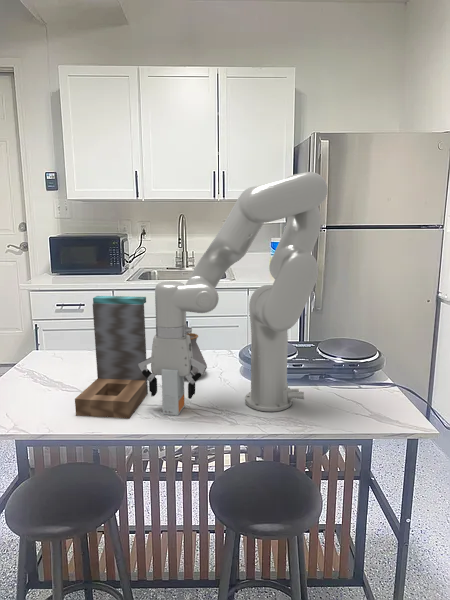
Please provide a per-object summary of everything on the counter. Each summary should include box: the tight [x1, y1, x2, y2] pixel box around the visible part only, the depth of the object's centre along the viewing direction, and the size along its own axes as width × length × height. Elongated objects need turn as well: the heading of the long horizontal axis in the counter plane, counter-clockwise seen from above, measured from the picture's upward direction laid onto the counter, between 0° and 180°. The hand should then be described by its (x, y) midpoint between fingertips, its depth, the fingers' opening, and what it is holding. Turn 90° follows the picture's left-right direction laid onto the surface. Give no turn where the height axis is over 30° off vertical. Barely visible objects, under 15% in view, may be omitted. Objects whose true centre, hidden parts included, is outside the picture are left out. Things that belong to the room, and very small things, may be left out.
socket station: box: [74, 295, 149, 419], centre depth 119 cm, size 14×18×28 cm
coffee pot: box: [184, 332, 208, 381], centre depth 135 cm, size 21×12×15 cm, turn 179°
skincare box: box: [161, 369, 186, 417], centre depth 116 cm, size 6×4×12 cm
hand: (172, 395), depth 116 cm, fingers open, 9 cm apart
